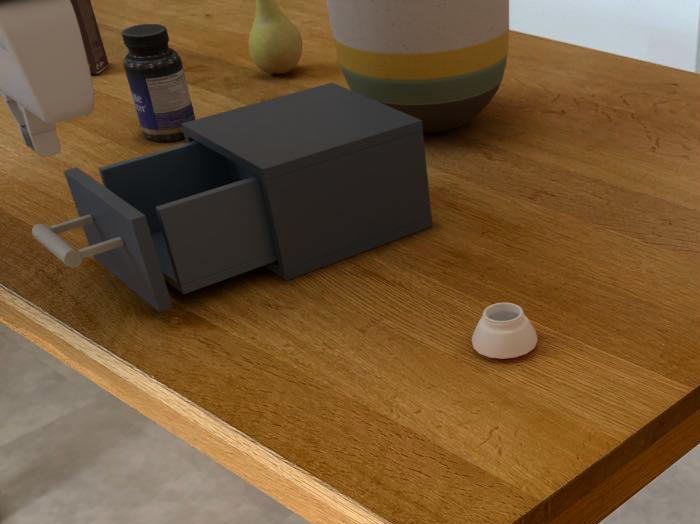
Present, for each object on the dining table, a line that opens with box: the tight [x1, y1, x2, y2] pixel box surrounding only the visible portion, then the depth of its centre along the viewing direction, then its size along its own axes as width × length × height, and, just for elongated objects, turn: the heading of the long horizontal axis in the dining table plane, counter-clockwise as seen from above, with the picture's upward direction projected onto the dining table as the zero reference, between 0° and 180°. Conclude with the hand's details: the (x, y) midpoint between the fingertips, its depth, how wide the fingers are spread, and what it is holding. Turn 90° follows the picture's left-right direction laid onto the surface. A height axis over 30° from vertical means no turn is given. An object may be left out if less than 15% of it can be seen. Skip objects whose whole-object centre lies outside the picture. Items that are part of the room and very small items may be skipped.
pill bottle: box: [121, 23, 197, 143], centre depth 112 cm, size 6×6×11 cm
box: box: [70, 0, 110, 75], centre depth 131 cm, size 6×4×12 cm
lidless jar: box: [471, 302, 538, 360], centre depth 77 cm, size 5×3×5 cm
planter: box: [325, 0, 510, 134], centre depth 109 cm, size 20×20×21 cm
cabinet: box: [181, 82, 433, 281], centre depth 92 cm, size 16×15×10 cm
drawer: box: [31, 140, 278, 313], centre depth 86 cm, size 20×14×8 cm
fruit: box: [248, 0, 303, 75], centre depth 127 cm, size 7×8×12 cm
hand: (44, 150), depth 77 cm, fingers closed
